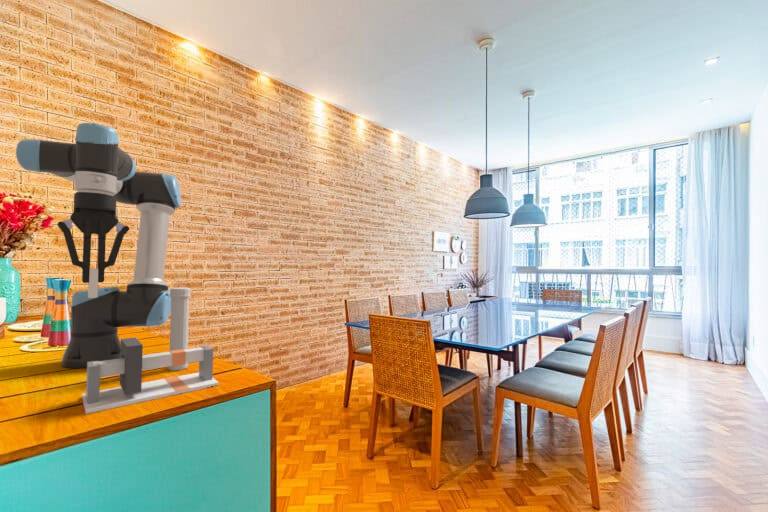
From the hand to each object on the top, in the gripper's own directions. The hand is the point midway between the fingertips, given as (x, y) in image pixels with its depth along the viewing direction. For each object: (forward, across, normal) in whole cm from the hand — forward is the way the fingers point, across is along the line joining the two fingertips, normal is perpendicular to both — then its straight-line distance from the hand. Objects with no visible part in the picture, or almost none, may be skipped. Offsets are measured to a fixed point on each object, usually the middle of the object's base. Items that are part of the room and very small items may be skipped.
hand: (92, 297), depth 81 cm
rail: (+24, +13, 0) cm, 27 cm away
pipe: (+24, +22, +17) cm, 37 cm away
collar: (+22, +8, 0) cm, 23 cm away
